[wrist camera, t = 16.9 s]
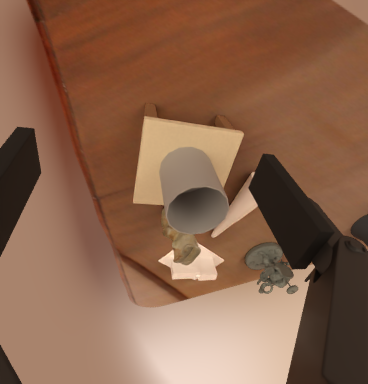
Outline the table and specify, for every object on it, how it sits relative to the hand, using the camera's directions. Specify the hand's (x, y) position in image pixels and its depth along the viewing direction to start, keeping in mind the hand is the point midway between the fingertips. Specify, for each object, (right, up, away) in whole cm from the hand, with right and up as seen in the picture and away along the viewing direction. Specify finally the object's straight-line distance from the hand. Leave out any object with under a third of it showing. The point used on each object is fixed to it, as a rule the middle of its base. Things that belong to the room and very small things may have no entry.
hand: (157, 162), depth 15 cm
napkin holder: (+4, -20, +54) cm, 58 cm away
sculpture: (-1, -4, +41) cm, 41 cm away
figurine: (+24, -19, +58) cm, 65 cm away
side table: (+1, +7, +32) cm, 33 cm away
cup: (+2, +2, +26) cm, 26 cm away
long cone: (+12, -5, +44) cm, 46 cm away
